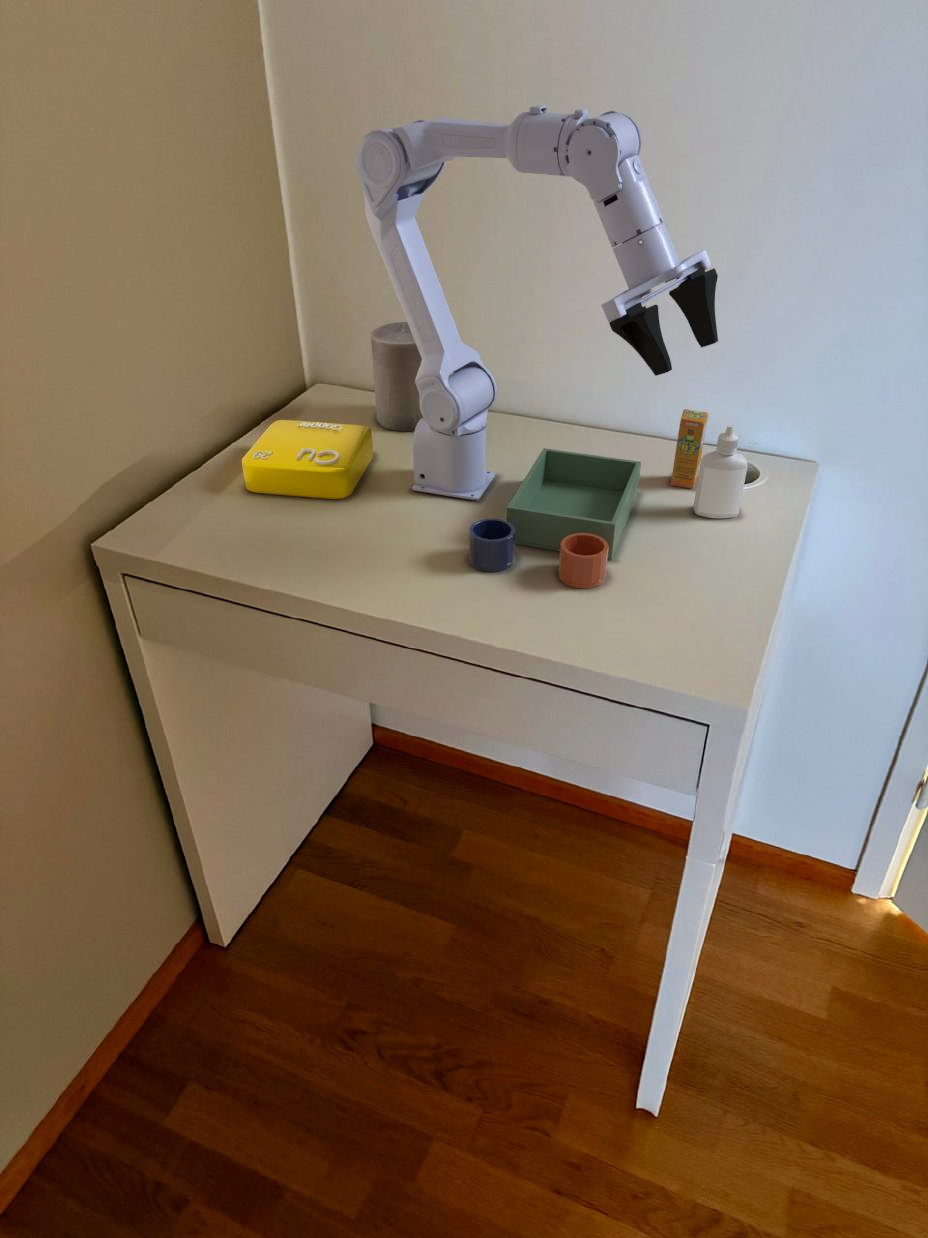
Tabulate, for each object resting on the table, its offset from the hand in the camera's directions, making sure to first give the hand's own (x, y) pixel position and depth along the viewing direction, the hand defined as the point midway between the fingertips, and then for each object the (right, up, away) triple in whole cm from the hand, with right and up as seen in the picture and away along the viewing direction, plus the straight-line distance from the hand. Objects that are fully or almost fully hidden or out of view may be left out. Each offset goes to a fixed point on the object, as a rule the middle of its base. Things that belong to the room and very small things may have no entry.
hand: (687, 358), depth 98 cm
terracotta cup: (-10, -23, +8) cm, 26 cm away
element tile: (-45, -8, +30) cm, 55 cm away
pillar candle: (-33, +3, +45) cm, 56 cm away
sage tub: (-10, -15, +19) cm, 26 cm away
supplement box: (+6, -10, +27) cm, 29 cm away
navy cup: (-21, -21, +11) cm, 31 cm away
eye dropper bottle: (+9, -14, +20) cm, 26 cm away
